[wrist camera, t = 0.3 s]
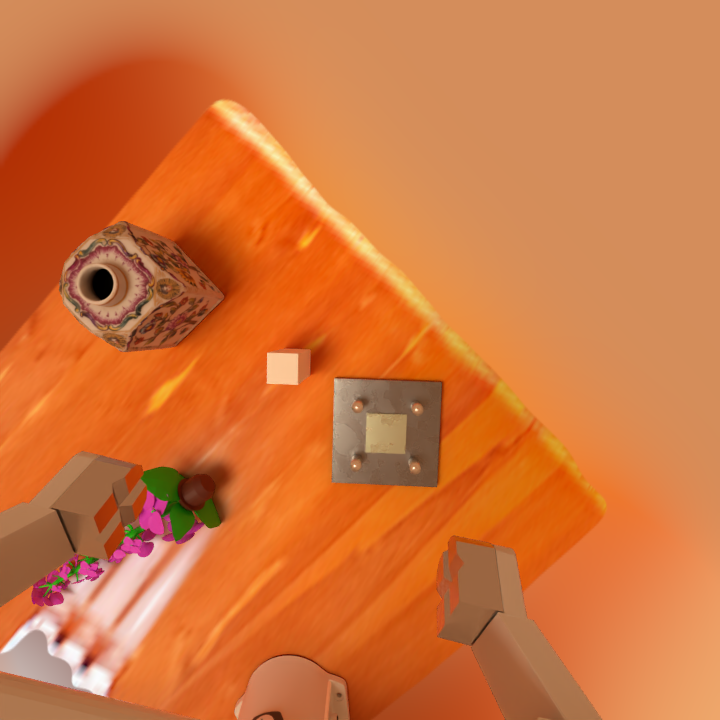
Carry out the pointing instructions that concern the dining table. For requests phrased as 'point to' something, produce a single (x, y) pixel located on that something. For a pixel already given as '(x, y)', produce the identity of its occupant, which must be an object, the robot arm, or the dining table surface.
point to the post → (288, 366)
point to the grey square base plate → (386, 431)
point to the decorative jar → (136, 289)
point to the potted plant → (146, 526)
